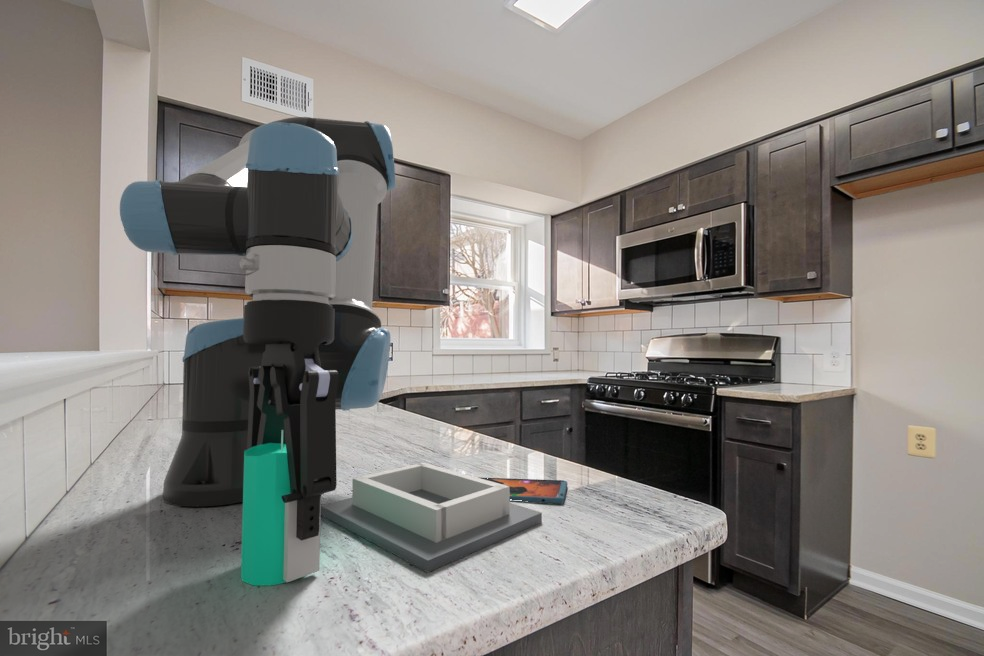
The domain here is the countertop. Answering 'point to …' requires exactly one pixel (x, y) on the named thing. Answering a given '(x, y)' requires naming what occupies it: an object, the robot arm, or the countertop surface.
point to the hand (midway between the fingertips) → (285, 561)
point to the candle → (264, 513)
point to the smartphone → (534, 489)
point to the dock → (429, 513)
